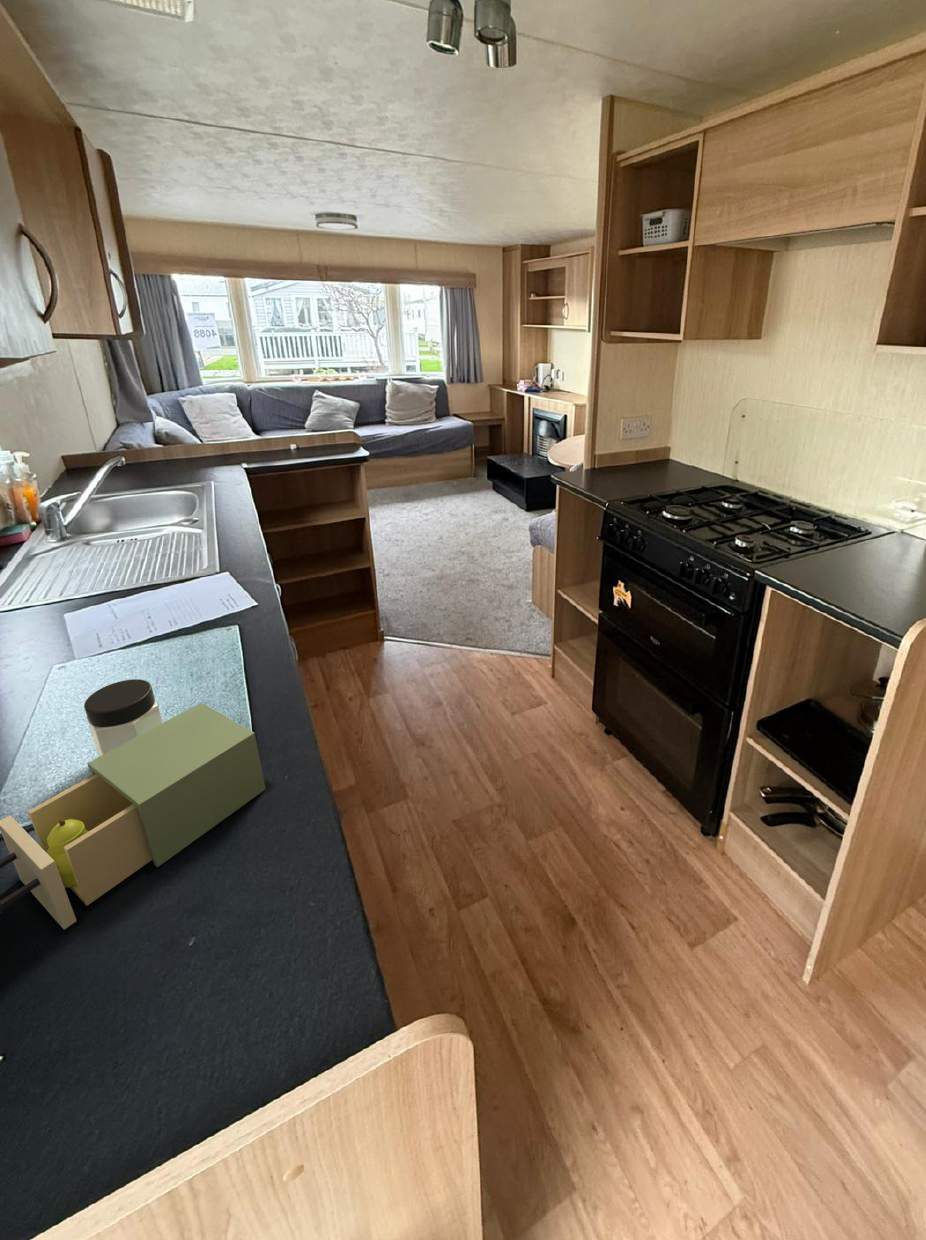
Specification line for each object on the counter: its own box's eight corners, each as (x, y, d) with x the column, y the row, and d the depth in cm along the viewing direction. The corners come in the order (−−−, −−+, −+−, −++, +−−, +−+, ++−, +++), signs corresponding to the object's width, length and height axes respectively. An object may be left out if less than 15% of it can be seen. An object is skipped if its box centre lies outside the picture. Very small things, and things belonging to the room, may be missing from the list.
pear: (44, 875, 66) (24, 825, 64) (92, 844, 70) (76, 796, 68) (63, 897, 64) (44, 846, 61) (113, 863, 68) (96, 814, 65)
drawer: (8, 970, 58) (-21, 907, 55) (-34, 912, 63) (-62, 853, 60) (189, 840, 72) (175, 785, 69) (142, 803, 78) (127, 750, 75)
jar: (176, 737, 92) (160, 673, 87) (164, 773, 84) (146, 705, 80) (111, 750, 89) (92, 684, 85) (93, 787, 82) (70, 718, 77)
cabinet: (158, 872, 69) (139, 804, 65) (107, 827, 75) (86, 763, 71) (266, 794, 81) (254, 732, 77) (214, 760, 87) (201, 702, 83)
